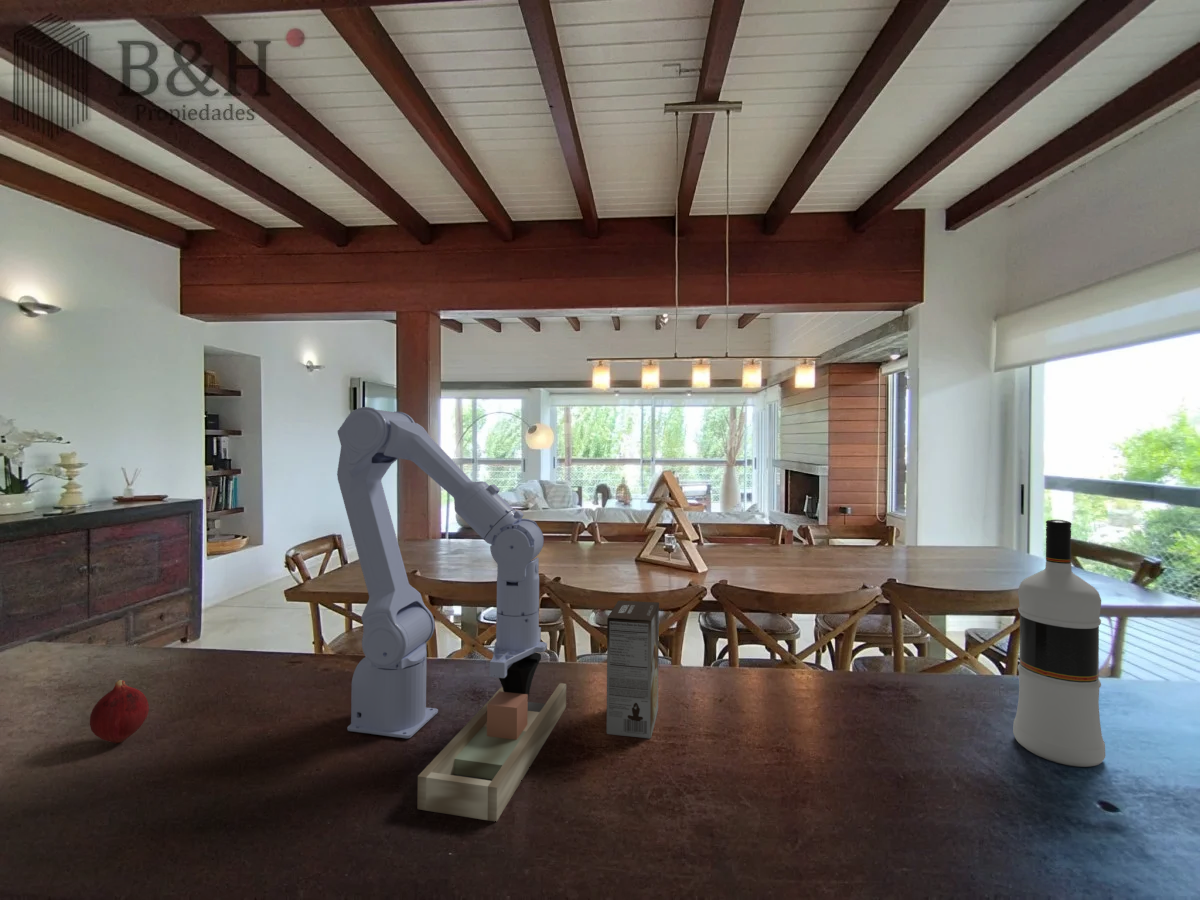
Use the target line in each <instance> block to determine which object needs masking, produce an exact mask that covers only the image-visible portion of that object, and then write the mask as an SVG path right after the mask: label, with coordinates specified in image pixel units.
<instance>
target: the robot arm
mask: <svg viewBox="0 0 1200 900" xmlns="http://www.w3.org/2000/svg"><path fill="white" fill-rule="evenodd" d="M337 435H338V440H339V443H340V452H339V457H338V465H337V466H338V467H337V473H336V475H337V481H338V485H339V489H340V493H341V497H342V500H343V504H344V508H345V512H346V515H347V519H348V522H349V527H350V531H351V534H352V537H353V540H354V541H353V542H354V545H355V548H356V552H357V556H358V557H357V558H358V560H359V564H360V567H361V571H362V574H363V579H364V582H365V586H366V590H367V594H368V601H367V602H366V605H365V607H364V610H363V612H362V614H361V617H360V618H361V623H362V626H363V634H362V639H361V647H362V652H363V654H364V656H365V657H363V658H362V659H361V660H360V661H359V663H358V664H357V665H356V667H355V669H354V672H353V675H352V680H351V694H350V695H351V701H350V702H351V703H350V704H351V707H350V708H351V709H350V710H351V713H350V717H351V718H350V724H349V725H348V726H347V732H354V733H360V734H369V735H370V734H371V735H378V736H385V737H393V738H402V739H410V738H412V737H414V735H415V734H416V733H417V732H418V731H419V730H420V729H422V727H424V726H425V725H426V724H427V723H428V722H429V721H430V720H431V719H433V718H434V716H436V715H437V714H438V713H439V709H438V708H436V707H427V655H428V653H427V642H428V641H429V640H430V639H431V638H432V637H433V635H434V632H435V628H436V627H435V626H436V623H435V618H434V616H433V613H432V611H431V610H430V609H429V608H428V607H427V606H426V604H425V603H424V599H423V597H422V594H421V592H419V591H418V590H417V589H416V588H415V587H413V586H412V585H411V584H410V582H409V579H408V575H407V571H406V567H405V564H404V560H403V556H402V552H401V549H400V546H399V542H398V538H397V534H396V531H395V527H394V523H393V520H392V516H391V513H390V509H389V504H388V500H387V498H386V497H387V496H386V494H385V490H384V487H383V483H382V482H383V481H382V479H383V477H385V475H386V473H387V472H388V470H389V469H390V467H391V466H392V465H393V464H394V463H396V462H397V460H399V459H401V460H407V461H411V462H412V463H414V464H415V465H416V466H417V467H418V468H419V469H421V471H423V472H424V473H425V474H426V475H428V477H430V478H431V479H432V480H433V481H434V482H435V483H437V484H438V485H439V486H440V487H441V488H442V489H443V490H444V491H445V492H446V493H448V494H449V495H450V496H451V497H453V501H454V502H453V503H454V504H453V505H454V511H455V512H454V513H456V514H457V515H458V516H459V517H460V518H461V519H462V520H463V521H464V522H465V523H466V524H467V525H469V527H470V528H471V529H472V530H473V531H474V532H475V533H477V535H478V536H479V537H481V539H482V540H484V542H486V543H487V544H489V547H490V554H491V556H492V558H493V561H494V562H495V563H496V564H497V570H496V571H497V573H496V574H497V577H496V621H495V623H496V624H495V626H496V629H495V643H494V647H493V654H492V659H490V660H489V673H488V674H489V675H488V676H489V678H494V679H495V678H496V679H498V680H499V682H500V684H501V687H502V688H503V691H504V692H510V693H519V694H528V698H529V696H530V691H531V687H532V682H533V679H534V676H535V673H536V671H537V668H538V666H539V664H540V661H541V660H542V654H541V653H544V652H545V651H546V650H547V649H548V643H547V642H546V641H545V642H544V641H542V640H541V639H542V635H541V633H542V627H540V625H539V624H540V616H539V615H540V575H539V570H540V567H539V565H540V559H539V557H537V556H539V554H540V552H541V551H542V549H543V547H544V542H545V541H544V538H545V537H544V534H543V531H542V530H541V528H540V527H539V525H538V523H537V522H536V521H534V520H533V519H530V518H523V517H524V516H525V515H524V513H523V512H522V511H521V510H519V509H518V510H515V509H514V508H513V507H512V506H511V505H510V504H509V503H508V502H507V501H506V500H505V499H504V498H503V497H502V496H501V495H499V494H498V493H499V492H500V491H501V489H500V488H499V487H498V486H497V485H496V484H493V483H492V484H490V485H489V484H488V482H486V481H473V480H472V479H471V478H470V477H469V476H468V475H467V474H466V473H465V472H464V471H463V469H461V468H460V466H458V465H457V463H455V461H454V460H453V459H452V458H451V457H450V456H449V455H448V453H446V451H444V450H443V449H442V447H441V446H440V445H439V444H438V443H437V442H436V440H434V439H433V438H432V437H431V435H429V432H427V430H426V429H425V428H424V426H422V425H421V424H419V423H417V422H415V420H414V418H413V417H412V416H410V415H409V414H408V413H405V412H403V411H388V410H382V409H381V410H380V409H375V408H374V407H369V406H368V407H367V406H363V407H358V408H356V409H354V410H352V411H351V412H350V413H349V414H348V416H347V417H346V418H345V420H344V421H343V422H342V424H341V425H340V427H339V429H338V430H337Z"/></svg>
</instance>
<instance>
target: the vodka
mask: <svg viewBox="0 0 1200 900" xmlns="http://www.w3.org/2000/svg"><path fill="white" fill-rule="evenodd" d="M1045 536H1046V537H1045V569H1043V570H1041V571H1038V572H1036V573H1034V574H1032V575H1030V576H1028V577H1026V578H1024V579H1023V580H1022V581H1021V582H1020V583H1019V587H1018V589H1017V596H1018V605H1019V606H1018V608H1017V610H1018V613H1019V664H1018V665H1017V671H1018V680H1019V682H1018V685H1019V686H1018V702H1017V708H1016V714H1015V718H1014V719H1013V722H1012V723H1013V725H1012V726H1013V727H1012V733H1013V735H1014V738H1015V740H1016V742H1018V744H1020V745H1021V747H1022V748H1024V749H1026V750H1027V751H1029V752H1030V753H1032V754H1033V755H1035V756H1038V757H1039V758H1042V759H1045V760H1047V761H1050V762H1053V763H1057V764H1059V765H1064V766H1068V767H1077V768H1090V767H1096V766H1099V765H1101V764H1102V763H1103V761H1104V760H1105V759H1106V743H1105V740H1104V738H1103V735H1102V734H1103V733H1102V727H1101V726H1102V725H1101V719H1100V718H1101V717H1100V706H1099V705H1100V702H1099V701H1100V688H1101V687H1102V682H1101V680H1100V679H1099V678H1100V677H1099V676H1100V675H1099V672H1100V671H1099V669H1100V668H1099V666H1100V665H1099V663H1100V661H1099V657H1100V656H1099V655H1100V654H1099V653H1100V651H1099V649H1100V647H1099V646H1100V644H1099V643H1100V642H1099V641H1100V640H1099V639H1100V627H1099V626H1100V625H1101V623H1102V619H1101V618H1100V617H1101V609H1102V598H1101V596H1100V593H1099V591H1098V590H1097V588H1095V587H1094V586H1093V585H1092V584H1090V583H1088V582H1087V581H1086V580H1084V579H1083V578H1081V577H1080V576H1078V575H1077V574H1075V573H1074V572H1073V569H1072V522H1070V521H1067V520H1064V519H1049V520H1046V521H1045Z"/></svg>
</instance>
